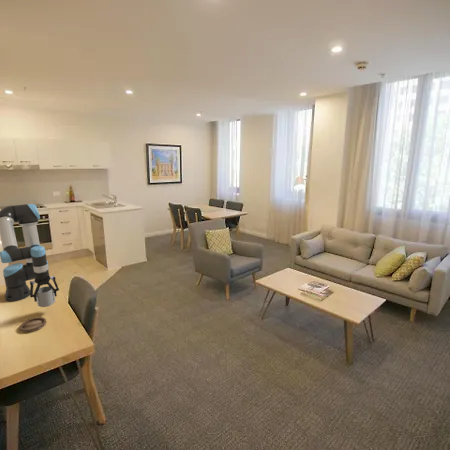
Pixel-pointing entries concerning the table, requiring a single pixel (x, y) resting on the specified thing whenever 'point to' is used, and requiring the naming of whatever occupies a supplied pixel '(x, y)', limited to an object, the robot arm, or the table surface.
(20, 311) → the table surface
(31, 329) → the tray
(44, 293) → the cup
